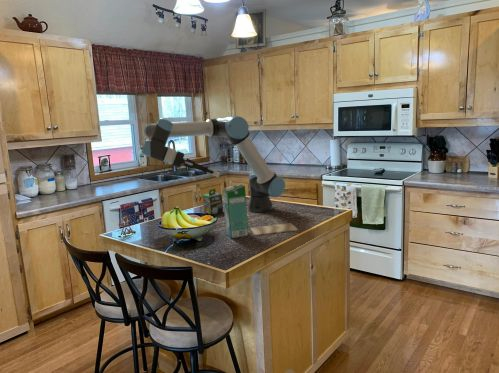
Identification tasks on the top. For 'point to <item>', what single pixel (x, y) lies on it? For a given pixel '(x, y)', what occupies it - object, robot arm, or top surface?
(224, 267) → the top surface
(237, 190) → the milk carton
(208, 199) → the chalk box
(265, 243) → the top surface
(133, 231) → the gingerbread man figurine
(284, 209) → the top surface
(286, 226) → the cork mat
